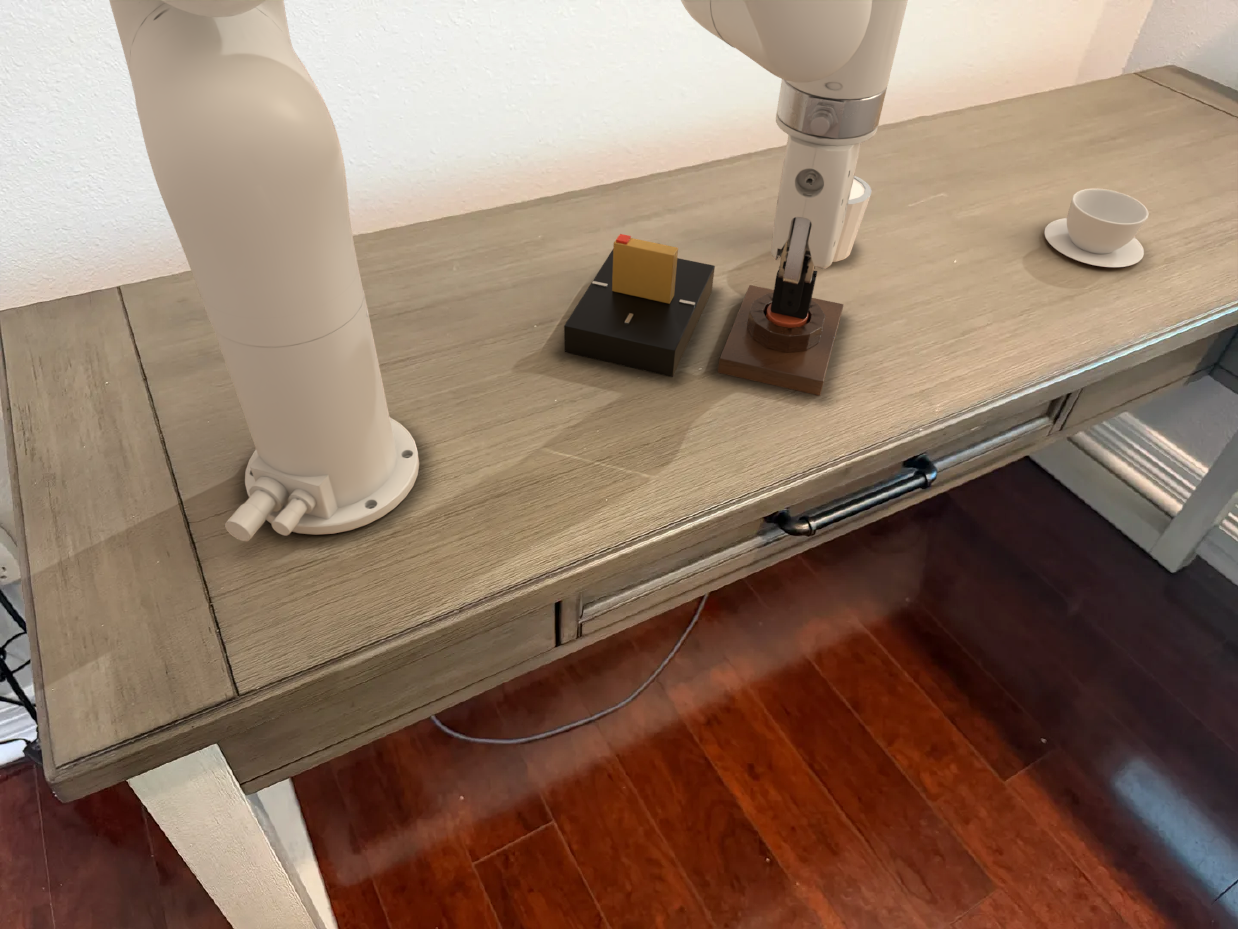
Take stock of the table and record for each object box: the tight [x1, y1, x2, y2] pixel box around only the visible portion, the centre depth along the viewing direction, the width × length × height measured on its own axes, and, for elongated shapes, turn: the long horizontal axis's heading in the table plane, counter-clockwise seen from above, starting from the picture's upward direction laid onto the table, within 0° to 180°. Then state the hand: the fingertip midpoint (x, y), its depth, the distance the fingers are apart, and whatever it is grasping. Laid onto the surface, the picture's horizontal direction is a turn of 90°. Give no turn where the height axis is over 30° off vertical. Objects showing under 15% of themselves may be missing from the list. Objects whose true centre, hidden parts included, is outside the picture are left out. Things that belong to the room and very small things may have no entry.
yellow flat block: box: [612, 233, 679, 304], centre depth 79 cm, size 6×1×5 cm, turn 71°
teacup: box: [1044, 187, 1149, 268], centre depth 93 cm, size 10×10×5 cm
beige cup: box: [832, 175, 872, 263], centre depth 90 cm, size 7×7×7 cm
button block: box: [717, 284, 844, 396], centre depth 80 cm, size 12×9×4 cm
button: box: [766, 303, 808, 328], centre depth 79 cm, size 4×4×2 cm
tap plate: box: [563, 249, 716, 378], centre depth 82 cm, size 14×10×3 cm
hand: (789, 310), depth 78 cm, fingers closed
